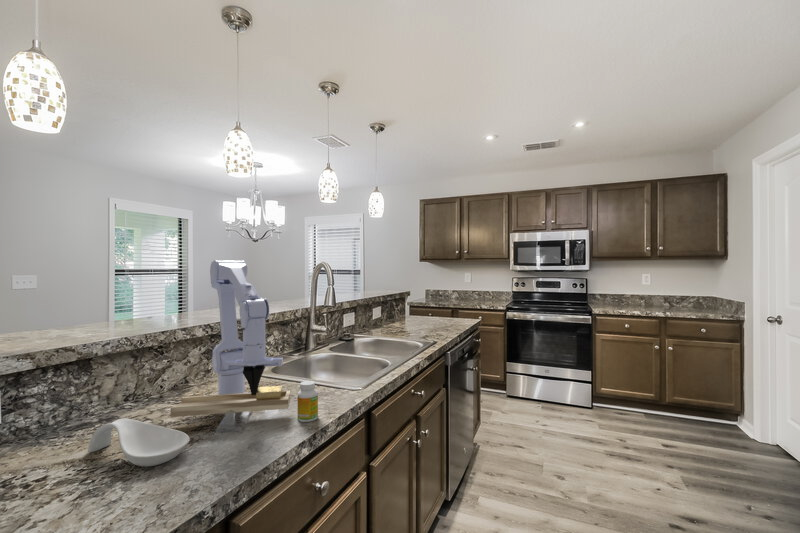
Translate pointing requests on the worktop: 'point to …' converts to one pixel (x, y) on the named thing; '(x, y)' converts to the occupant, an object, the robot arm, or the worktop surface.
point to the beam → (227, 404)
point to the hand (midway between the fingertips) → (254, 394)
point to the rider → (269, 393)
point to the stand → (233, 421)
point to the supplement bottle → (307, 402)
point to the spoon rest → (141, 441)
